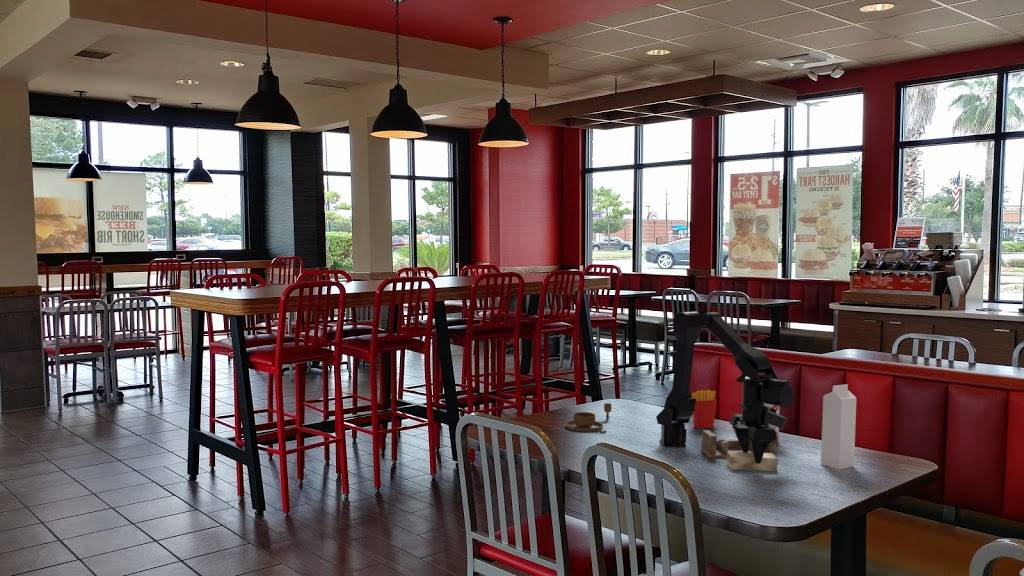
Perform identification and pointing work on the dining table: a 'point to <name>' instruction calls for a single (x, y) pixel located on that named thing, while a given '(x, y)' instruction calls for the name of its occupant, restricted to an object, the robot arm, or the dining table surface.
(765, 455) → the board
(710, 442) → the frame
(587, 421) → the place setting
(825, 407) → the milk
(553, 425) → the dining table surface
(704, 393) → the french fries
